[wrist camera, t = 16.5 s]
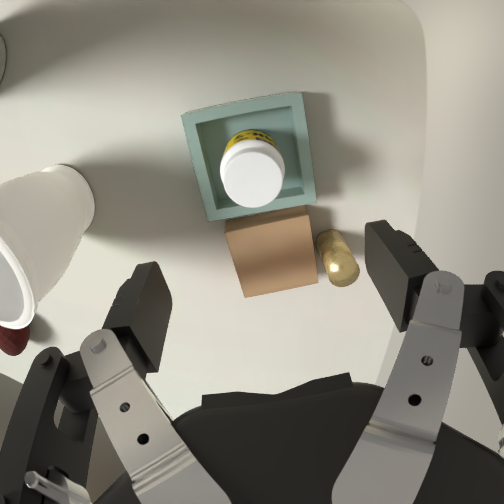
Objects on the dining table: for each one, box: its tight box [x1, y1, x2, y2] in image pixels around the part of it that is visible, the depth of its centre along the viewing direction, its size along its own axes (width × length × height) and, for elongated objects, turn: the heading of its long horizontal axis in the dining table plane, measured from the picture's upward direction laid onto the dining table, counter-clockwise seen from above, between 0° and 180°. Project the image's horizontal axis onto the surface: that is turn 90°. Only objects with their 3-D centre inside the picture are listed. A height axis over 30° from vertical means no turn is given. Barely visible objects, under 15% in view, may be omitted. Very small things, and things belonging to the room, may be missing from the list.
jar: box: [0, 165, 95, 329], centre depth 23 cm, size 11×10×15 cm
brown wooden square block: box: [225, 205, 318, 298], centre depth 32 cm, size 8×8×3 cm
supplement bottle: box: [220, 129, 285, 208], centre depth 24 cm, size 5×5×8 cm
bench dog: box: [316, 230, 360, 287], centre depth 31 cm, size 3×3×6 cm
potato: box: [0, 325, 29, 356], centre depth 37 cm, size 7×8×6 cm
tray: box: [181, 92, 317, 222], centre depth 27 cm, size 10×10×3 cm
